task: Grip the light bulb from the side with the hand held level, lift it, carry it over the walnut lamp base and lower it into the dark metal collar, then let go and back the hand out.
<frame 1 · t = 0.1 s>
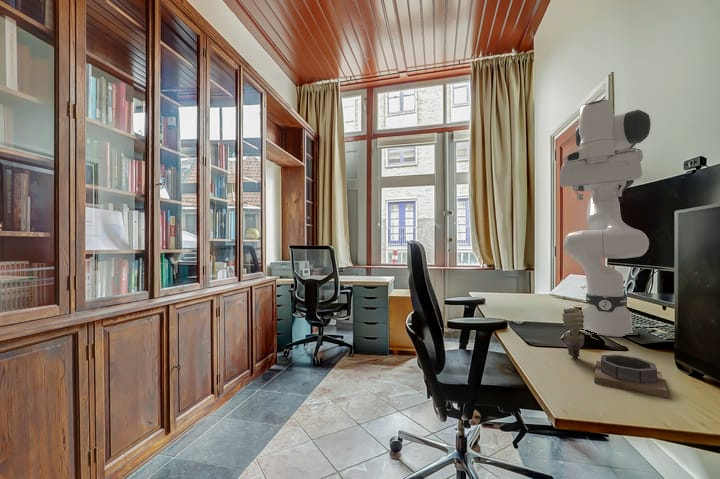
hand: (598, 198, 97), 48 cm above the table, tool pointing down, fingers open, 8 cm apart
light bulb: (574, 359, 94), on the table
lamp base: (628, 380, 79), on the table
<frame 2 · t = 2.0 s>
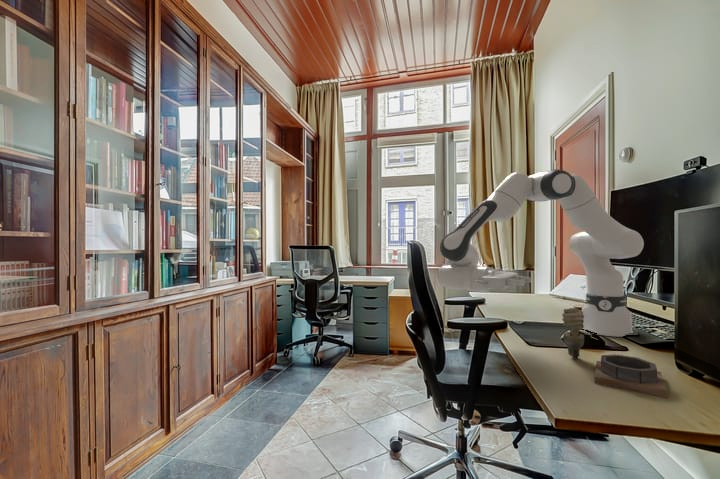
hand: (527, 281, 102), 22 cm above the table, tool horizontal, fingers open, 8 cm apart
nothing on the table moved.
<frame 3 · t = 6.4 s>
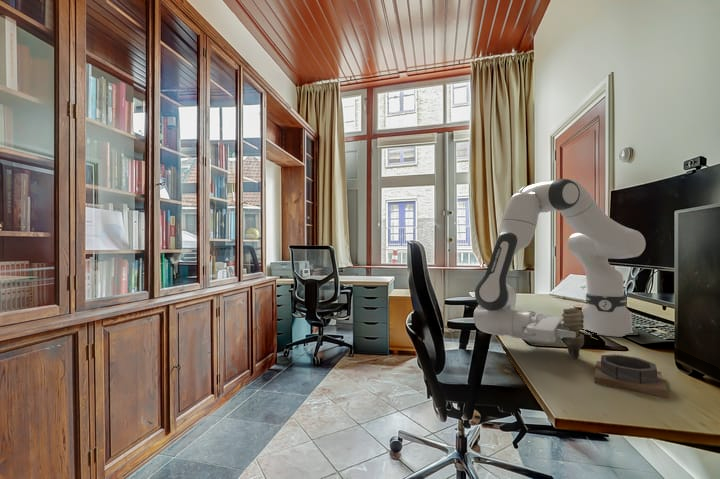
hand: (577, 331, 94), 8 cm above the table, tool horizontal, fingers closed on light bulb, 5 cm apart
light bulb: (574, 359, 94), on the table, touching gripper
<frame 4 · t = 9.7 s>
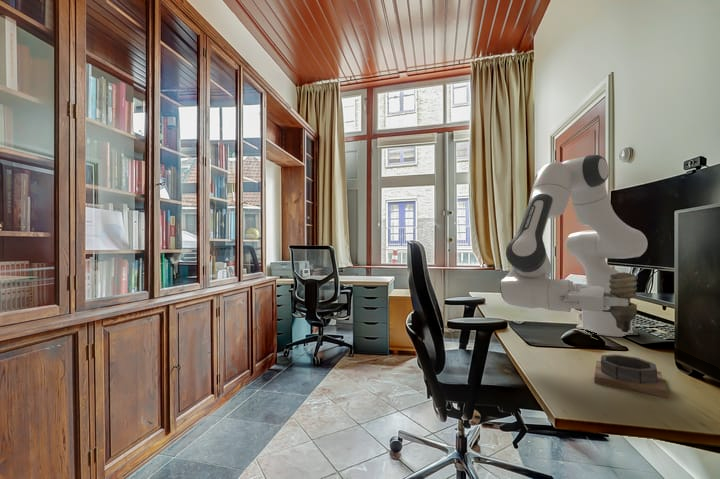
hand: (627, 300, 79), 20 cm above the table, tool horizontal, fingers closed on light bulb, 5 cm apart
light bulb: (623, 332, 80), point 12 cm above the table, touching gripper
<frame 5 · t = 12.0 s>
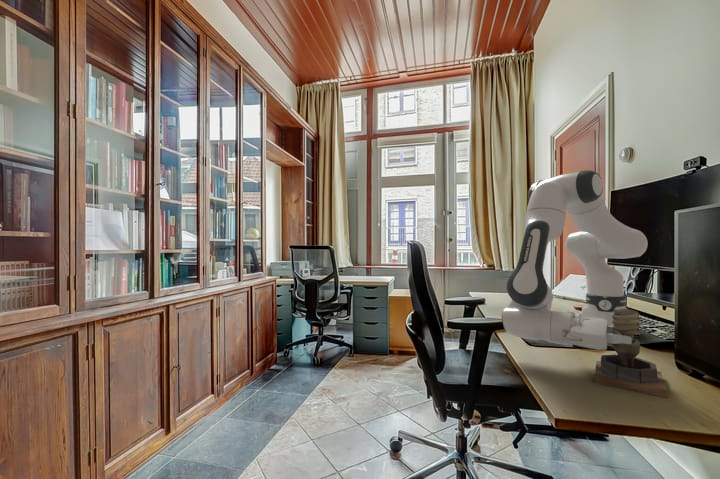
hand: (631, 336, 79), 11 cm above the table, tool horizontal, fingers closed on light bulb, 5 cm apart
light bulb: (627, 369, 79), point 3 cm above the table, touching gripper
when the fingers open (11 cm above the table, at t = 12.7 s): light bulb drops 1 cm, resting on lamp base.
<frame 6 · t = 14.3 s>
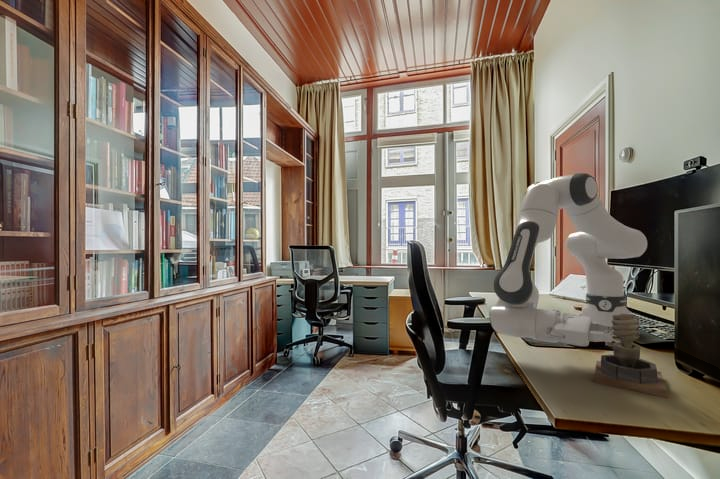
hand: (612, 333, 81), 11 cm above the table, tool horizontal, fingers open, 8 cm apart
light bulb: (627, 375, 79), point 1 cm above the table, touching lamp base
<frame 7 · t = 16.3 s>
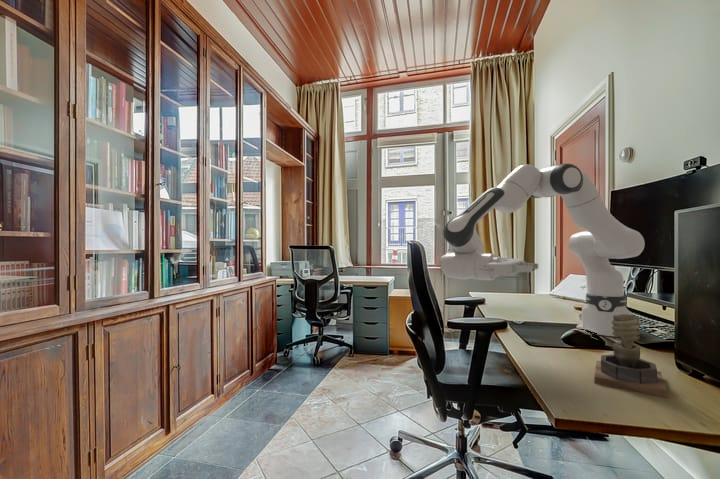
hand: (535, 267, 96), 27 cm above the table, tool horizontal, fingers open, 8 cm apart
nothing on the table moved.
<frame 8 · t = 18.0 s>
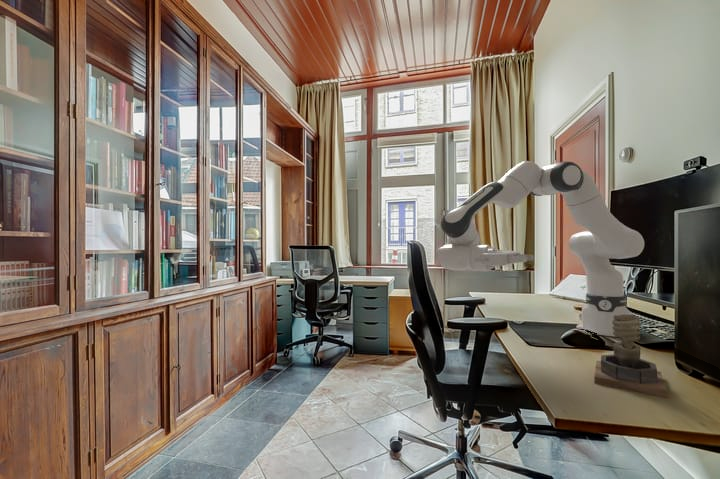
hand: (529, 258, 97), 30 cm above the table, tool horizontal, fingers open, 8 cm apart
nothing on the table moved.
at the end: light bulb 0.4 cm off-centre on the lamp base, point 1.3 cm above the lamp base's base; light bulb tilted 1°; the gripper is holding nothing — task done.
